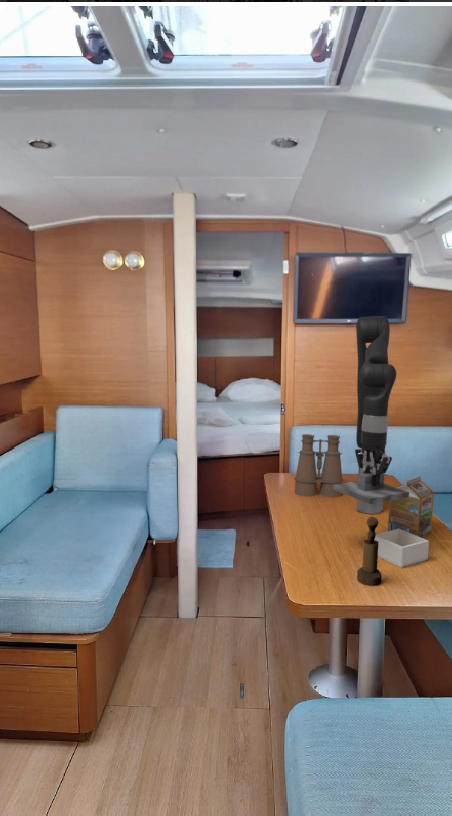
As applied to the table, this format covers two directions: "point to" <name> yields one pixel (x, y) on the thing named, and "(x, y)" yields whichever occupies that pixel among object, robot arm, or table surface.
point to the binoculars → (307, 468)
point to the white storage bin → (402, 547)
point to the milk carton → (413, 509)
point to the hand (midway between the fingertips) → (371, 484)
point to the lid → (370, 490)
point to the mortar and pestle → (370, 557)
